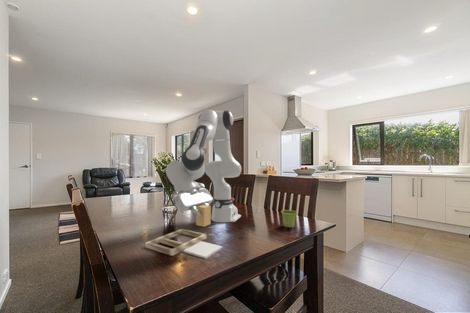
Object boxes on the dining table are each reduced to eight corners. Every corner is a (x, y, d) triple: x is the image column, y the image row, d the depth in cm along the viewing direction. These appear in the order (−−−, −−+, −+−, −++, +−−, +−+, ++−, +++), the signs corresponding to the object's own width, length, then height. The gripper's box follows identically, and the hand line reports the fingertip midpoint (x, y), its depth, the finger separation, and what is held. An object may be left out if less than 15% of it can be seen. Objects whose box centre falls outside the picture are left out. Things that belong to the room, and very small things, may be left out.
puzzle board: (181, 232, 116) (181, 228, 116) (206, 238, 107) (206, 234, 107) (145, 247, 96) (145, 242, 96) (172, 255, 87) (172, 250, 87)
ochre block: (202, 222, 96) (202, 204, 96) (210, 223, 94) (210, 205, 94) (196, 225, 92) (196, 206, 93) (204, 226, 90) (204, 207, 90)
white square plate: (201, 242, 101) (201, 241, 101) (222, 248, 95) (222, 246, 95) (183, 252, 91) (183, 250, 91) (205, 258, 85) (205, 256, 85)
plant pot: (295, 224, 132) (295, 210, 132) (298, 229, 122) (298, 214, 122) (280, 223, 132) (280, 209, 133) (282, 228, 123) (282, 213, 123)
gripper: (174, 188, 88) (192, 214, 83) (205, 183, 106) (221, 205, 101) (167, 197, 90) (184, 224, 85) (198, 191, 108) (213, 213, 103)
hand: (204, 214), depth 93 cm, fingers closed on ochre block, 4 cm apart
